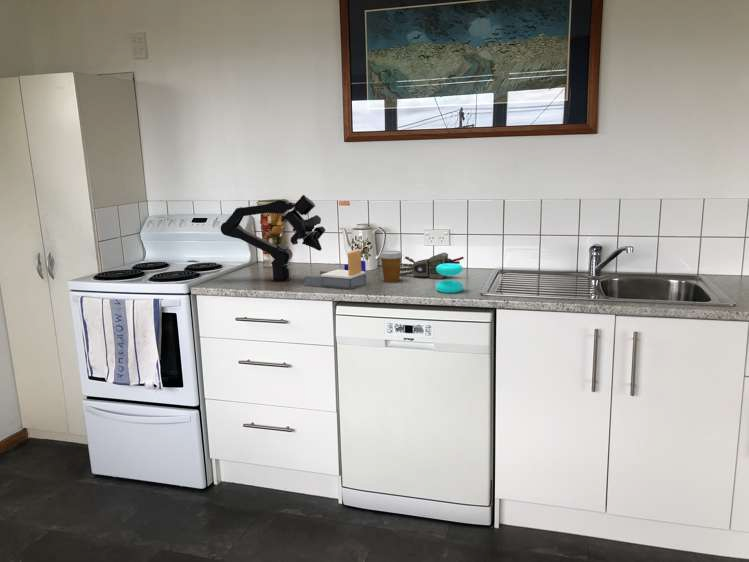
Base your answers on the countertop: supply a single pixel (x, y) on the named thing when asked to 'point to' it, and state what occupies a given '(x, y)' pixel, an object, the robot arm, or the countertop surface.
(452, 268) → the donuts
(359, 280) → the frame
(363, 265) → the cable clip
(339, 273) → the lid
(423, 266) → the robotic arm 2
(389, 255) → the disposable coffee cup
